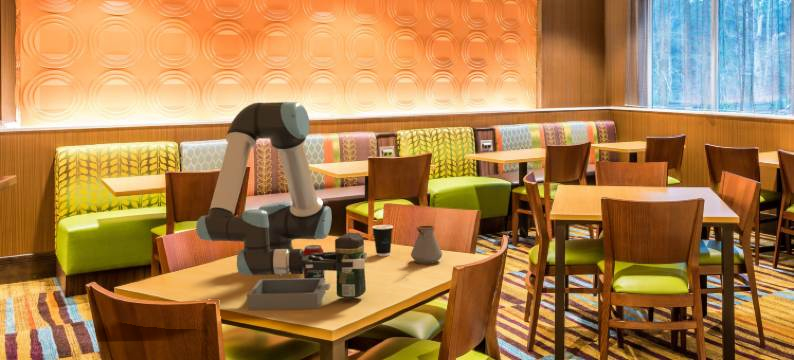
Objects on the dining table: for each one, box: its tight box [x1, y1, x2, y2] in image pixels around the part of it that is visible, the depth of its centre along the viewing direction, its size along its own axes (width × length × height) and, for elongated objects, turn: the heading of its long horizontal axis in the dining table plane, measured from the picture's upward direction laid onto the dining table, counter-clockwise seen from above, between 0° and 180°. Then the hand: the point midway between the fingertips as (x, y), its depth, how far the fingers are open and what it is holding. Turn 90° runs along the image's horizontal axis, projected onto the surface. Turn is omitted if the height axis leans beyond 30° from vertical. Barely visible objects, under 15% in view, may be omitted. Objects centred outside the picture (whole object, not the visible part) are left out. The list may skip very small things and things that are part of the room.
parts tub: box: [246, 277, 331, 311], centre depth 226 cm, size 18×23×4 cm
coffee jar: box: [334, 232, 367, 299], centre depth 225 cm, size 10×8×19 cm
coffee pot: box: [410, 225, 443, 265], centre depth 269 cm, size 21×12×15 cm, turn 168°
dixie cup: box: [371, 224, 394, 257], centre depth 288 cm, size 8×8×11 cm
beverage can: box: [303, 244, 325, 279], centre depth 247 cm, size 7×7×12 cm
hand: (365, 260), depth 224 cm, fingers closed on coffee jar, 8 cm apart
